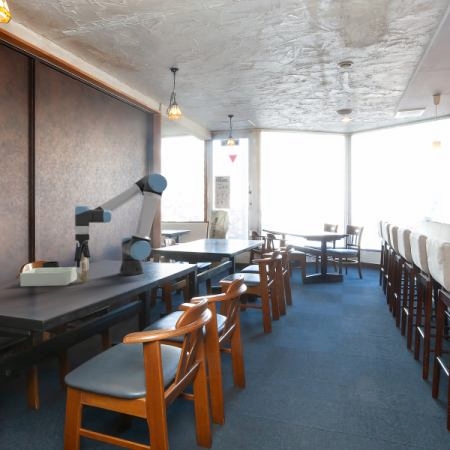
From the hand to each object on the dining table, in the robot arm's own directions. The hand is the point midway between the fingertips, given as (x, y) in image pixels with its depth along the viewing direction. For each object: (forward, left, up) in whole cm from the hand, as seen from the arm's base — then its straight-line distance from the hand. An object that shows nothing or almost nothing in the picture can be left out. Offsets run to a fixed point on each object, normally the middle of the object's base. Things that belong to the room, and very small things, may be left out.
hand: (82, 271), depth 208 cm
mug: (+24, -19, -7) cm, 31 cm away
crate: (+19, -2, -6) cm, 20 cm away
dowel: (0, 0, -6) cm, 6 cm away
